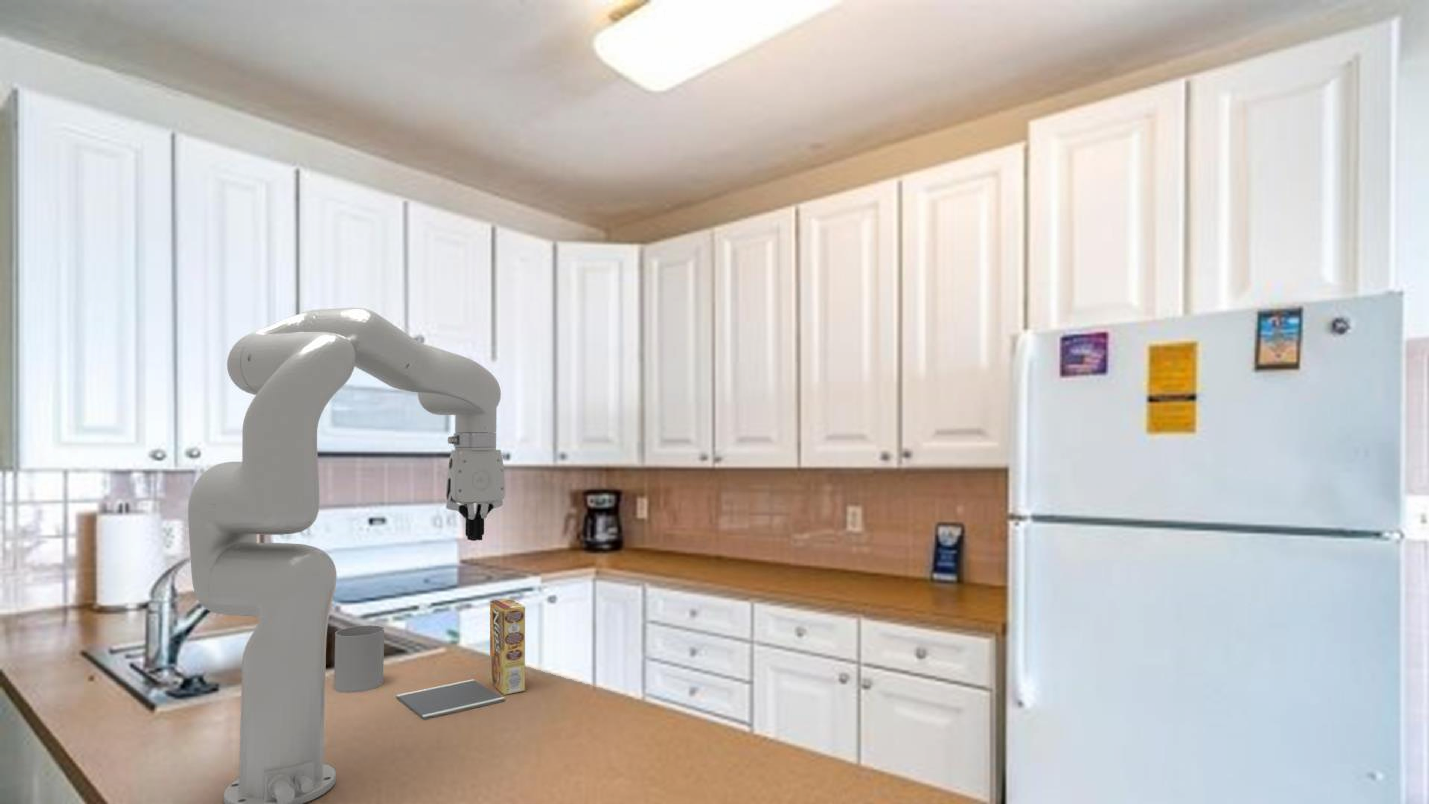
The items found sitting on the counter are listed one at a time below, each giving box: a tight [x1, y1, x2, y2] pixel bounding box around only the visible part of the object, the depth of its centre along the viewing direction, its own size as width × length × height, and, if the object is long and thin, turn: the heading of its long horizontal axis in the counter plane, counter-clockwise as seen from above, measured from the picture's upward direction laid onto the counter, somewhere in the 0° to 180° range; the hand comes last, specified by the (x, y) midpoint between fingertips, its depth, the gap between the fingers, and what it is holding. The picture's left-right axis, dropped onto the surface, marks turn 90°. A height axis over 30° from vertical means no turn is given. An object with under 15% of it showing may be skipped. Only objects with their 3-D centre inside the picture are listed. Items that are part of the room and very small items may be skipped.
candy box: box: [489, 598, 526, 696], centre depth 141 cm, size 9×4×15 cm, turn 34°
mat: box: [395, 678, 506, 720], centre depth 134 cm, size 14×14×1 cm
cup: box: [333, 624, 385, 694], centre depth 142 cm, size 8×8×10 cm
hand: (474, 539), depth 144 cm, fingers closed
